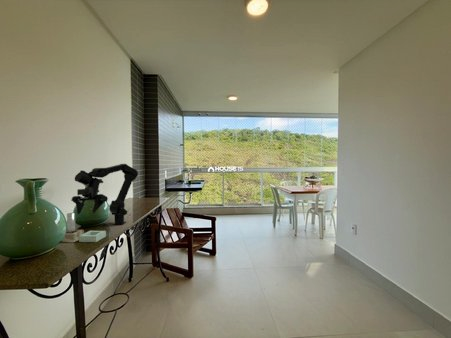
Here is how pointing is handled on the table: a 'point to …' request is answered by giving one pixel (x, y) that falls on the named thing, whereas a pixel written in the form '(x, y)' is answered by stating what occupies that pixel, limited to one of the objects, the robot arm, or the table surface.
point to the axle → (71, 223)
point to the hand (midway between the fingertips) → (85, 213)
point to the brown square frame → (73, 236)
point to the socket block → (92, 236)
